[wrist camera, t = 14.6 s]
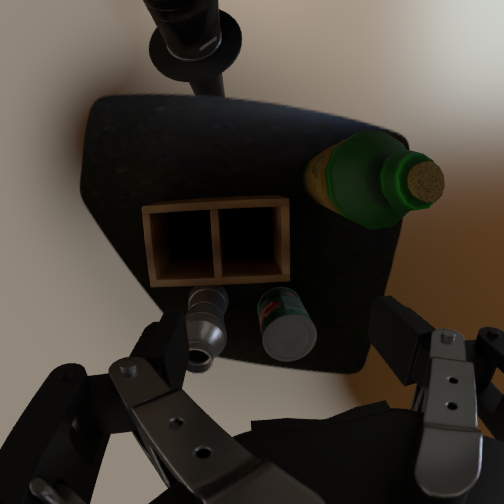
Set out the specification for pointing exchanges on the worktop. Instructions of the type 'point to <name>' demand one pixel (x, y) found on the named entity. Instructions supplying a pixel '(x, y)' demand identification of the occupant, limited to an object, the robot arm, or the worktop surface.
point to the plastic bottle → (205, 326)
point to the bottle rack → (216, 245)
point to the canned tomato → (285, 325)
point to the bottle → (372, 179)
